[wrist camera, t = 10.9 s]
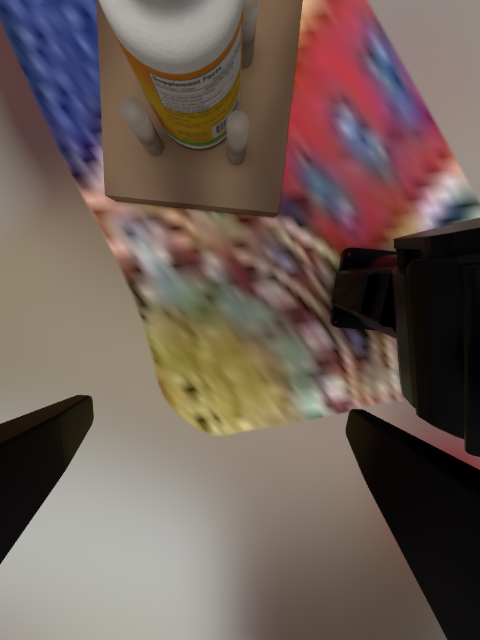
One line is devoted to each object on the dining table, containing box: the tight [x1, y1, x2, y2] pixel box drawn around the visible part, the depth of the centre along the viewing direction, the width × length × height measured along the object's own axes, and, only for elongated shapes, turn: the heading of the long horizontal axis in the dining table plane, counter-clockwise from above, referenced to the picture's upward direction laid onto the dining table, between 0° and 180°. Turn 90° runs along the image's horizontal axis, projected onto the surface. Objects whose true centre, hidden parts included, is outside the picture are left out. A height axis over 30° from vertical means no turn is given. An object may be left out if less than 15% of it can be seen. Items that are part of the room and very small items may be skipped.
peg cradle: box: [97, 0, 303, 217], centre depth 14 cm, size 12×12×5 cm
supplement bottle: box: [99, 0, 244, 149], centre depth 10 cm, size 5×5×10 cm
